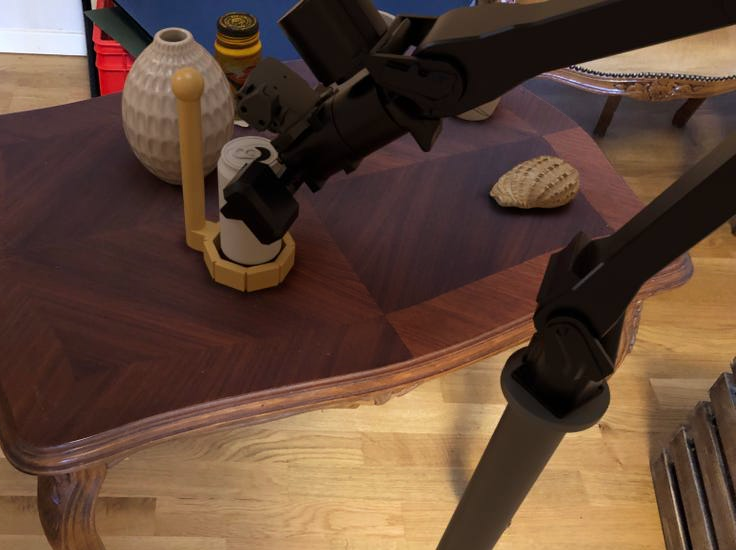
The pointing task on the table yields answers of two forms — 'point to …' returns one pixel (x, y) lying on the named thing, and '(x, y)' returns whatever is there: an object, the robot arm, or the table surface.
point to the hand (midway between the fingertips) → (238, 195)
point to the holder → (198, 229)
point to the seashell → (537, 184)
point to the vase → (174, 104)
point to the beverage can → (233, 233)
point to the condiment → (237, 50)
